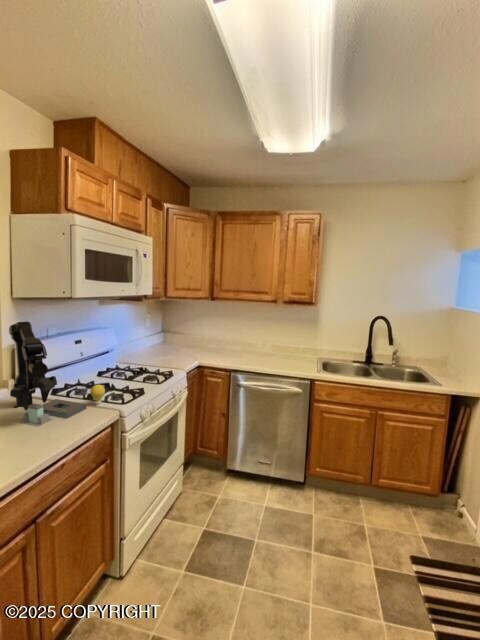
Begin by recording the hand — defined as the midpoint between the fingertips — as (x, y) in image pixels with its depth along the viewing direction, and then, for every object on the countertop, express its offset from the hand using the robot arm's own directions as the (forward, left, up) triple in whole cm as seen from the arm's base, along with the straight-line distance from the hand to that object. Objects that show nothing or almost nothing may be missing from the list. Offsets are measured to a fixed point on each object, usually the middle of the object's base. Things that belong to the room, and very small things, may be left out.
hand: (35, 406), depth 152 cm
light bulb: (+10, +27, -8) cm, 30 cm away
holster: (0, 0, -7) cm, 7 cm away
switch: (+1, +13, -7) cm, 15 cm away
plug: (0, 0, -7) cm, 7 cm away
